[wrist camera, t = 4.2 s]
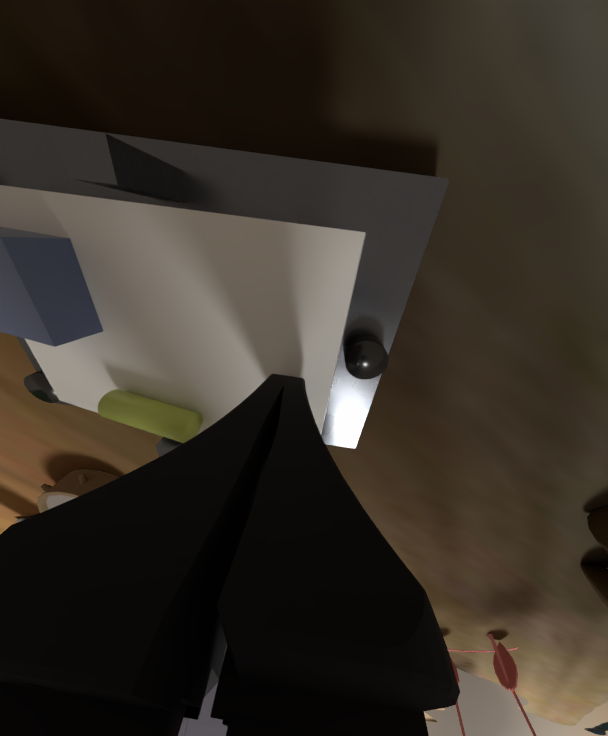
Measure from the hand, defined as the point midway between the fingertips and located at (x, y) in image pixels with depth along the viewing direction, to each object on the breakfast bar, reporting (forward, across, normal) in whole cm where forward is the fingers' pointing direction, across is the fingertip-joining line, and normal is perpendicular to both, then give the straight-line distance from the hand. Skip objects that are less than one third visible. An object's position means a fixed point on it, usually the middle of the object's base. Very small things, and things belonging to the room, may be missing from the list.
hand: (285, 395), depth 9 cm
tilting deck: (+2, +7, 0) cm, 7 cm away
